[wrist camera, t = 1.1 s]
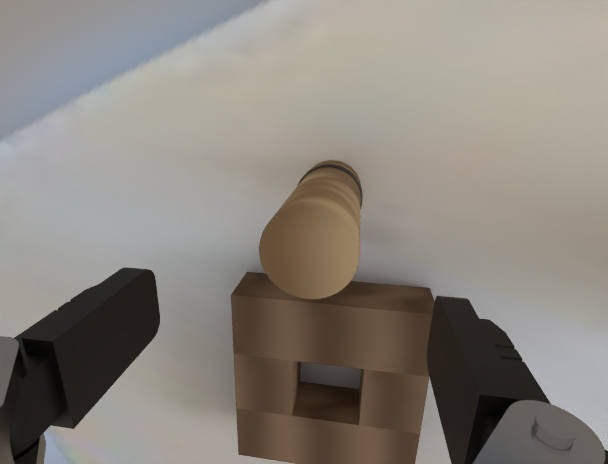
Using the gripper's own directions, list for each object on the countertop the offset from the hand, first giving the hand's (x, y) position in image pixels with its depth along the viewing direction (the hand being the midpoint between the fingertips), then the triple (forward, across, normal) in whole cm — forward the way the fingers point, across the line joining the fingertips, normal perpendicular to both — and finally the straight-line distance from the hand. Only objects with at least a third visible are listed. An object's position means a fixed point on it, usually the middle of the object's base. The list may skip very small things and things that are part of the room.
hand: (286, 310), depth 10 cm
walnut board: (+18, -1, +16) cm, 24 cm away
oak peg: (+18, 0, 0) cm, 18 cm away
